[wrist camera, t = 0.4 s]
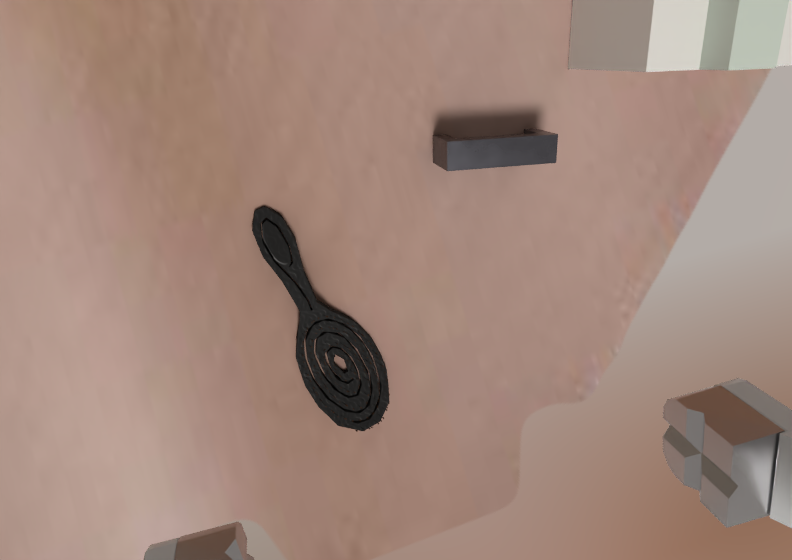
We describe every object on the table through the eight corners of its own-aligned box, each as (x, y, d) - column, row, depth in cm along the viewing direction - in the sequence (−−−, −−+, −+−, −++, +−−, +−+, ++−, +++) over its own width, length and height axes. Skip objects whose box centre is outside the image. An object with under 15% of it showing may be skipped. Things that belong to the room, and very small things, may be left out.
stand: (567, 68, 54) (671, 73, 41) (573, -15, 52) (686, -41, 38) (690, 63, 57) (828, 65, 43) (702, -17, 54) (851, -42, 41)
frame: (433, 162, 55) (447, 171, 51) (432, 135, 54) (447, 141, 50) (534, 155, 57) (555, 162, 53) (535, 128, 56) (557, 134, 52)
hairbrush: (302, 193, 51) (408, 415, 60) (301, 186, 54) (401, 397, 63) (214, 233, 50) (334, 450, 59) (218, 223, 54) (331, 430, 63)
